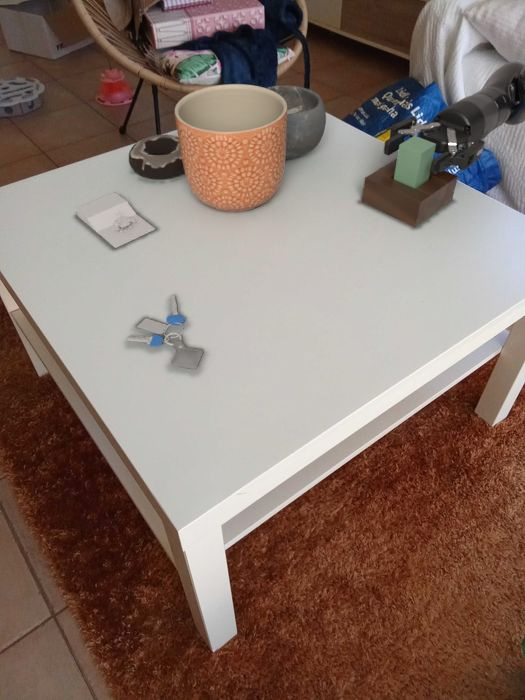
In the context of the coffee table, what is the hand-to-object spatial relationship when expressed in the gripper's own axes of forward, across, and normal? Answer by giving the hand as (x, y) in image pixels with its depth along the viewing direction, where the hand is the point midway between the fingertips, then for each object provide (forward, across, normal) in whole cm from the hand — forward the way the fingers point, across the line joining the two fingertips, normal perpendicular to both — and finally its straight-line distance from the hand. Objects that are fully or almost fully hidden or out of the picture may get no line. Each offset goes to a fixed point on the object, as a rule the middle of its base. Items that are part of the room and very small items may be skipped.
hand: (409, 158), depth 87 cm
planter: (+16, -22, +9) cm, 29 cm away
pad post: (-2, 0, +8) cm, 9 cm away
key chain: (+46, -4, +9) cm, 47 cm away
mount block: (-2, 0, +8) cm, 9 cm away
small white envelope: (+35, -31, +9) cm, 47 cm away
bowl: (0, -26, +8) cm, 28 cm away
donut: (+19, -39, +8) cm, 44 cm away
